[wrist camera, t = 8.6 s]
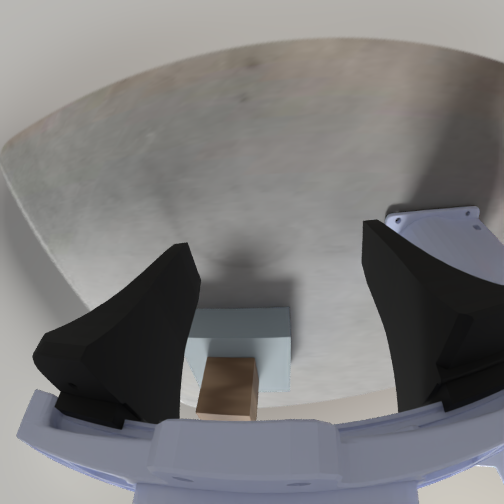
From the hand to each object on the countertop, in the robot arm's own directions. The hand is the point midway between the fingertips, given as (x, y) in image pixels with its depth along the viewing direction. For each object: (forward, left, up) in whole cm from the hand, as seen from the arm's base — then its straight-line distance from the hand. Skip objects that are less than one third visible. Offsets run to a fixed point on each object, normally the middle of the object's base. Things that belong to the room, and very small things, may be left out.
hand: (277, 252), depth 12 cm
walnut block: (+6, +17, -6) cm, 19 cm away
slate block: (+6, +17, -10) cm, 21 cm away
